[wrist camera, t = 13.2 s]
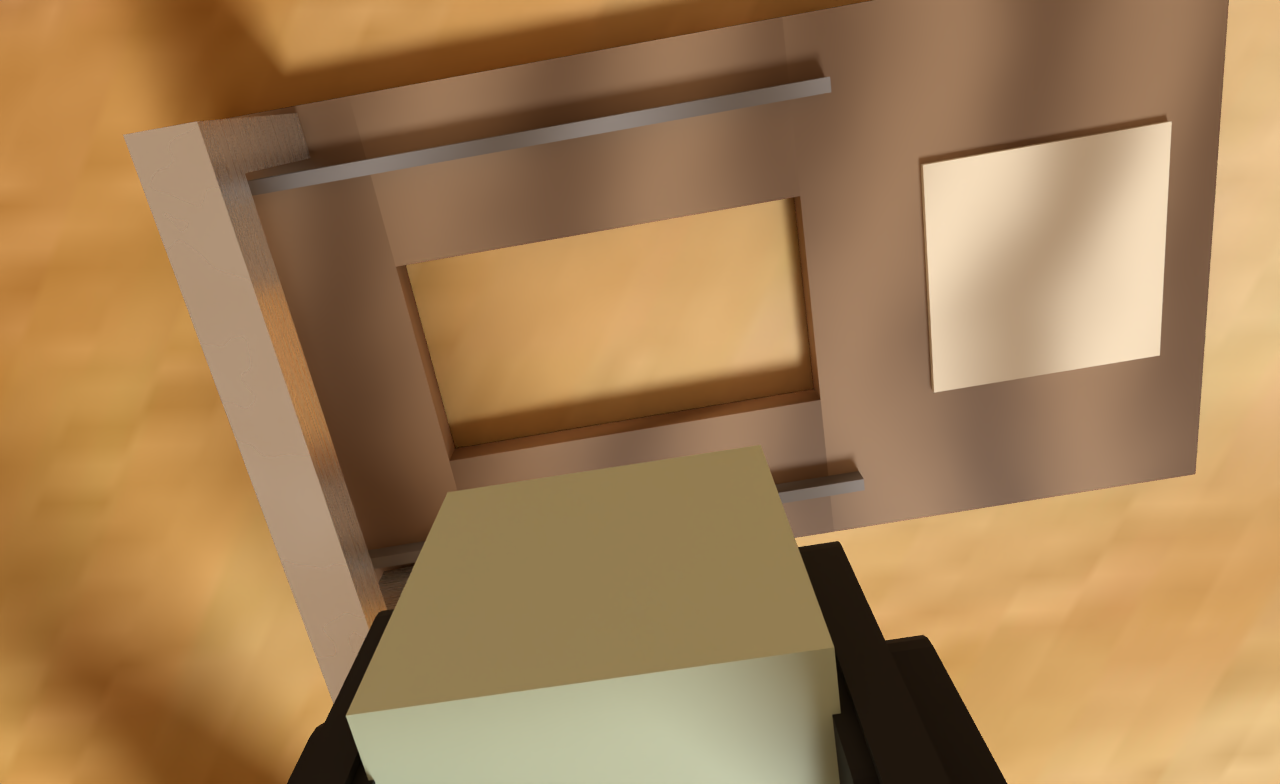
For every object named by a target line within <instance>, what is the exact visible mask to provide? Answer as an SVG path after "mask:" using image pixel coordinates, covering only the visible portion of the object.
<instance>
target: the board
mask: <svg viewBox="0 0 1280 784" xmlns="http://www.w3.org/2000/svg"><path fill="white" fill-rule="evenodd" d="M1228 5H1229V0H872V1H867V2H861V3H856V4H850V5H845V6H839V7H834V8H828V9H823V10H817V11H812V12H806V13H801V14H796V15H790V16H785V17H779V18H774V19H768V20H763V21H757V22H752V23H746V24H741V25H735V26H730V27H724V28H719V29H713V30H708V31H703V32H697V33H692V34H686V35H681V36H675V37H670V38H664V39H659V40H653V41H648V42H642V43H637V44H631V45H626V46H620V47H615V48H609V49H604V50H599V51H593V52H588V53H582V54H577V55H571V56H566V57H560V58H555V59H549V60H544V61H538V62H533V63H527V64H522V65H516V66H511V67H506V68H500V69H495V70H489V71H484V72H478V73H473V74H467V75H462V76H456V77H451V78H445V79H440V80H434V81H429V82H423V83H418V84H413V85H407V86H402V87H396V88H391V89H385V90H380V91H374V92H369V93H363V94H358V95H352V96H347V97H341V98H336V99H330V100H325V101H319V102H314V103H309V104H303V105H298V106H292V107H287V108H281V109H276V110H270V111H265V112H259V113H254V114H248V115H243V116H237V117H232V118H245V117H257V116H269V115H281V114H293V113H297V115H298V118H299V121H300V125H301V128H302V131H303V135H304V138H305V142H306V145H307V148H308V152H309V155H310V158H309V159H304V160H300V161H296V162H291V163H287V164H283V165H278V166H274V167H270V168H265V169H261V170H257V171H252V172H248V173H245V176H246V179H247V182H248V185H249V188H250V191H251V194H252V197H253V200H254V203H255V206H256V210H257V213H258V216H259V219H260V222H261V225H262V228H263V231H264V234H265V237H266V240H267V243H268V246H269V249H270V252H271V256H272V259H273V262H274V265H275V268H276V271H277V274H278V277H279V280H280V283H281V286H282V289H283V292H284V295H285V298H286V302H287V305H288V308H289V311H290V314H291V317H292V320H293V323H294V326H295V329H296V332H297V335H298V338H299V341H300V344H301V347H302V351H303V354H304V357H305V360H306V363H307V366H308V369H309V372H310V375H311V378H312V381H313V384H314V387H315V390H316V393H317V397H318V400H319V403H320V406H321V409H322V412H323V415H324V418H325V421H326V424H327V427H328V430H329V433H330V436H331V439H332V443H333V446H334V449H335V452H336V455H337V458H338V461H339V464H340V467H341V470H342V473H343V476H344V479H345V482H346V485H347V489H348V492H349V495H350V498H351V501H352V504H353V507H354V510H355V513H356V516H357V519H358V522H359V525H360V528H361V531H362V535H363V538H364V541H365V544H366V547H367V550H368V553H369V556H370V559H371V562H372V565H373V568H374V571H375V574H376V577H377V580H378V583H379V581H380V578H381V576H382V574H383V572H384V571H387V570H394V569H400V568H406V567H412V566H414V565H415V563H416V560H417V558H418V556H419V554H420V552H421V550H422V547H423V545H424V543H425V541H426V539H427V536H428V534H429V532H430V530H431V528H432V525H433V523H434V521H435V519H436V517H437V514H438V512H439V510H440V508H441V506H442V503H443V501H444V499H445V497H446V495H447V492H453V491H459V490H466V489H473V488H479V487H486V486H492V485H499V484H506V483H512V482H519V481H525V480H532V479H539V478H545V477H552V476H558V475H565V474H572V473H578V472H585V471H591V470H598V469H605V468H611V467H618V466H624V465H631V464H638V463H644V462H651V461H657V460H664V459H671V458H677V457H684V456H690V455H697V454H704V453H710V452H717V451H723V450H730V449H737V448H743V447H750V446H756V445H761V447H762V450H763V453H764V455H765V458H766V461H767V464H768V466H769V469H770V472H771V475H772V477H773V480H774V483H775V486H776V488H777V491H778V494H779V497H780V499H781V502H782V505H783V508H784V510H785V513H786V516H787V519H788V521H789V524H790V527H791V530H792V532H793V535H794V538H797V537H803V536H809V535H816V534H822V533H828V532H834V531H841V530H847V529H853V528H860V527H866V526H872V525H878V524H885V523H891V522H897V521H904V520H910V519H916V518H922V517H929V516H935V515H941V514H948V513H954V512H960V511H966V510H973V509H979V508H985V507H992V506H998V505H1004V504H1010V503H1017V502H1023V501H1029V500H1036V499H1042V498H1048V497H1054V496H1061V495H1067V494H1073V493H1080V492H1086V491H1092V490H1098V489H1105V488H1111V487H1117V486H1124V485H1130V484H1136V483H1143V482H1149V481H1155V480H1161V479H1168V478H1174V477H1180V476H1187V475H1193V474H1195V472H1196V458H1197V444H1198V429H1199V415H1200V401H1201V387H1202V373H1203V359H1204V344H1205V330H1206V316H1207V302H1208V288H1209V274H1210V259H1211V245H1212V231H1213V217H1214V203H1215V189H1216V175H1217V160H1218V146H1219V132H1220V118H1221V104H1222V90H1223V75H1224V61H1225V47H1226V33H1227V19H1228ZM232 118H226V119H232ZM792 197H794V202H795V211H796V221H797V231H798V240H799V250H800V260H801V270H802V279H803V289H804V299H805V308H806V318H807V328H808V338H809V347H810V357H811V367H812V377H813V386H814V389H811V390H805V391H799V392H793V393H787V394H781V395H775V396H769V397H763V398H757V399H751V400H745V401H739V402H733V403H727V404H721V405H714V406H708V407H702V408H696V409H690V410H684V411H678V412H672V413H666V414H660V415H654V416H648V417H642V418H636V419H630V420H624V421H618V422H612V423H606V424H600V425H594V426H588V427H582V428H576V429H570V430H564V431H558V432H552V433H545V434H539V435H533V436H527V437H521V438H515V439H509V440H503V441H497V442H491V443H485V444H479V445H473V446H467V447H461V448H455V446H454V443H453V439H452V435H451V432H450V428H449V424H448V420H447V417H446V413H445V409H444V406H443V402H442V398H441V395H440V391H439V387H438V384H437V380H436V376H435V372H434V369H433V365H432V361H431V358H430V354H429V350H428V347H427V343H426V339H425V335H424V332H423V328H422V324H421V321H420V317H419V313H418V310H417V306H416V302H415V299H414V295H413V291H412V287H411V284H410V280H409V276H408V273H407V269H406V265H408V264H414V263H420V262H425V261H431V260H437V259H443V258H448V257H454V256H460V255H466V254H471V253H477V252H483V251H488V250H494V249H500V248H506V247H511V246H517V245H523V244H529V243H534V242H540V241H546V240H552V239H557V238H563V237H569V236H574V235H580V234H586V233H592V232H597V231H603V230H609V229H615V228H620V227H626V226H632V225H637V224H643V223H649V222H655V221H660V220H666V219H672V218H678V217H683V216H689V215H695V214H701V213H706V212H712V211H718V210H723V209H729V208H735V207H741V206H746V205H752V204H758V203H764V202H769V201H775V200H781V199H786V198H792Z"/></svg>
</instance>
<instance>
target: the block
mask: <svg viewBox="0 0 1280 784" xmlns="http://www.w3.org/2000/svg"><path fill="white" fill-rule="evenodd" d="M840 713H841V710H840V700H839V690H838V680H837V669H836V659H835V649H834V645H833V642H832V640H831V637H830V634H829V631H828V629H827V626H826V623H825V620H824V618H823V615H822V612H821V609H820V607H819V604H818V601H817V598H816V596H815V593H814V590H813V587H812V585H811V582H810V579H809V576H808V574H807V571H806V568H805V565H804V563H803V560H802V557H801V554H800V552H799V549H798V546H797V543H796V541H795V538H794V535H793V532H792V530H791V527H790V524H789V521H788V519H787V516H786V513H785V510H784V508H783V505H782V502H781V499H780V497H779V494H778V491H777V488H776V486H775V483H774V480H773V477H772V475H771V472H770V469H769V466H768V464H767V461H766V458H765V455H764V453H763V450H762V447H761V445H756V446H750V447H743V448H737V449H730V450H723V451H717V452H710V453H704V454H697V455H690V456H684V457H677V458H671V459H664V460H657V461H651V462H644V463H638V464H631V465H624V466H618V467H611V468H605V469H598V470H591V471H585V472H578V473H572V474H565V475H558V476H552V477H545V478H539V479H532V480H525V481H519V482H512V483H506V484H499V485H492V486H486V487H479V488H473V489H466V490H459V491H453V492H447V495H446V497H445V499H444V501H443V503H442V506H441V508H440V510H439V512H438V514H437V517H436V519H435V521H434V523H433V525H432V528H431V530H430V532H429V534H428V536H427V539H426V541H425V543H424V545H423V547H422V550H421V552H420V554H419V556H418V558H417V560H416V563H415V565H414V567H413V569H412V571H411V574H410V576H409V578H408V580H407V582H406V585H405V587H404V589H403V591H402V593H401V596H400V598H399V600H398V602H397V604H396V607H395V609H394V611H393V613H392V615H391V618H390V620H389V622H388V624H387V626H386V629H385V631H384V633H383V635H382V637H381V639H380V642H379V644H378V646H377V648H376V650H375V653H374V655H373V657H372V659H371V661H370V664H369V666H368V668H367V670H366V672H365V675H364V677H363V679H362V681H361V683H360V686H359V688H358V690H357V692H356V694H355V697H354V699H353V701H352V703H351V705H350V707H349V710H348V712H347V714H346V718H347V721H348V723H349V726H350V729H351V732H352V735H353V738H354V740H355V743H356V746H357V749H358V752H359V755H360V757H361V760H362V763H363V766H364V769H365V772H366V774H367V777H368V780H374V781H375V783H376V784H840V780H839V771H838V762H837V754H836V745H835V736H834V727H833V718H832V715H833V714H840Z"/></svg>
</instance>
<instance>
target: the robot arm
mask: <svg viewBox="0 0 1280 784" xmlns="http://www.w3.org/2000/svg"><path fill="white" fill-rule="evenodd" d="M798 549H799V552H800V554H801V557H802V560H803V563H804V565H805V568H806V571H807V574H808V576H809V579H810V582H811V585H812V587H813V590H814V593H815V596H816V598H817V601H818V604H819V607H820V609H821V612H822V615H823V618H824V620H825V623H826V626H827V629H828V631H829V634H830V637H831V640H832V642H833V645H834V649H835V659H836V669H837V680H838V690H839V700H840V710H841V713H840V714H833V715H832V718H833V727H834V736H835V745H836V754H837V762H838V771H839V780H840V784H1007V782H1006V780H1005V779H1004V777H1003V775H1002V773H1001V771H1000V769H999V767H998V766H997V764H996V762H995V760H994V758H993V756H992V754H991V753H990V751H989V749H988V747H987V745H986V743H985V741H984V740H983V738H982V736H981V734H980V732H979V730H978V728H977V727H976V725H975V723H974V721H973V719H972V717H971V716H970V714H969V712H968V710H967V708H966V706H965V704H964V703H963V701H962V699H961V697H960V695H959V693H958V691H957V690H956V688H955V686H954V684H953V682H952V680H951V678H950V677H949V675H948V673H947V671H946V669H945V667H944V666H943V664H942V662H941V660H940V658H939V656H938V654H937V653H936V651H935V649H934V647H933V645H932V644H931V642H930V641H929V639H928V638H927V637H925V636H924V635H920V636H913V637H906V638H900V639H893V640H886V641H885V639H884V637H883V635H882V633H881V631H880V628H879V626H878V624H877V622H876V620H875V617H874V615H873V613H872V611H871V609H870V607H869V604H868V602H867V600H866V598H865V596H864V594H863V591H862V589H861V587H860V585H859V583H858V580H857V578H856V576H855V574H854V572H853V570H852V567H851V565H850V563H849V561H848V559H847V556H846V554H845V552H844V550H843V548H842V546H841V544H840V542H838V541H836V542H829V543H823V544H816V545H810V546H803V547H798ZM393 611H394V609H390V610H384V611H381V612H379V613H378V614H377V615H376V617H375V619H374V621H373V623H372V625H371V627H370V629H369V631H368V634H367V636H366V638H365V640H364V642H363V644H362V646H361V648H360V650H359V652H358V654H357V656H356V658H355V661H354V663H353V665H352V667H351V669H350V671H349V673H348V675H347V677H346V679H345V681H344V683H343V686H342V688H341V690H340V692H339V694H338V696H337V698H336V700H335V702H334V704H333V706H332V708H331V711H330V713H329V715H328V717H327V719H326V721H325V723H323V724H321V725H319V726H318V727H316V729H315V730H314V732H313V733H312V735H311V736H310V738H309V740H308V742H307V744H306V746H305V748H304V750H303V752H302V754H301V756H300V758H299V760H298V762H297V764H296V766H295V768H294V770H293V772H292V774H291V776H290V779H289V781H288V783H287V784H376V783H375V781H374V780H368V777H367V774H366V772H365V769H364V766H363V763H362V760H361V757H360V755H359V752H358V749H357V746H356V743H355V740H354V738H353V735H352V732H351V729H350V726H349V723H348V721H347V718H346V714H347V712H348V710H349V707H350V705H351V703H352V701H353V699H354V697H355V694H356V692H357V690H358V688H359V686H360V683H361V681H362V679H363V677H364V675H365V672H366V670H367V668H368V666H369V664H370V661H371V659H372V657H373V655H374V653H375V650H376V648H377V646H378V644H379V642H380V639H381V637H382V635H383V633H384V631H385V629H386V626H387V624H388V622H389V620H390V618H391V615H392V613H393Z"/></svg>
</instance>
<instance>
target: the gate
mask: <svg viewBox="0 0 1280 784" xmlns="http://www.w3.org/2000/svg"><path fill="white" fill-rule="evenodd" d="M123 136H124V139H125V141H126V144H127V147H128V149H129V152H130V155H131V157H132V160H133V163H134V166H135V168H136V171H137V174H138V176H139V179H140V182H141V185H142V187H143V190H144V193H145V195H146V198H147V201H148V203H149V206H150V209H151V212H152V214H153V217H154V220H155V222H156V225H157V228H158V230H159V233H160V236H161V239H162V241H163V244H164V247H165V249H166V252H167V255H168V257H169V260H170V263H171V266H172V268H173V271H174V274H175V276H176V279H177V282H178V285H179V287H180V290H181V293H182V295H183V298H184V301H185V303H186V306H187V309H188V312H189V314H190V317H191V320H192V322H193V325H194V328H195V330H196V333H197V336H198V339H199V341H200V344H201V347H202V349H203V352H204V355H205V357H206V360H207V363H208V366H209V368H210V371H211V374H212V376H213V379H214V382H215V385H216V387H217V390H218V393H219V395H220V398H221V401H222V403H223V406H224V409H225V412H226V414H227V417H228V420H229V422H230V425H231V428H232V430H233V433H234V436H235V439H236V441H237V444H238V447H239V449H240V452H241V455H242V457H243V460H244V463H245V466H246V468H247V471H248V474H249V476H250V479H251V482H252V485H253V487H254V490H255V493H256V495H257V498H258V501H259V503H260V506H261V509H262V512H263V514H264V517H265V520H266V522H267V525H268V528H269V530H270V533H271V536H272V539H273V541H274V544H275V547H276V549H277V552H278V555H279V557H280V560H281V563H282V566H283V568H284V571H285V574H286V576H287V579H288V582H289V585H290V587H291V590H292V593H293V595H294V598H295V601H296V603H297V606H298V609H299V612H300V614H301V617H302V620H303V622H304V625H305V628H306V630H307V633H308V636H309V639H310V641H311V644H312V647H313V649H314V652H315V655H316V657H317V660H318V663H319V666H320V668H321V671H322V674H323V676H324V679H325V682H326V685H327V687H328V690H329V693H330V695H331V698H332V701H333V703H334V702H335V700H336V698H337V696H338V694H339V692H340V690H341V688H342V686H343V683H344V681H345V679H346V677H347V675H348V673H349V671H350V669H351V667H352V665H353V663H354V661H355V658H356V656H357V654H358V652H359V650H360V648H361V646H362V644H363V642H364V640H365V638H366V636H367V634H368V631H369V629H370V627H371V625H372V623H373V621H374V619H375V617H376V615H377V614H378V613H379V612H381V611H384V610H390V609H395V607H396V604H397V602H398V600H399V598H400V596H401V593H402V591H403V589H404V587H405V585H406V582H407V580H408V578H409V576H410V574H411V571H412V569H413V567H414V566H412V567H406V568H400V569H394V570H387V571H384V572H383V574H382V576H381V578H380V581H379V583H378V580H377V577H376V574H375V571H374V568H373V565H372V562H371V559H370V556H369V553H368V550H367V547H366V544H365V541H364V538H363V535H362V531H361V528H360V525H359V522H358V519H357V516H356V513H355V510H354V507H353V504H352V501H351V498H350V495H349V492H348V489H347V485H346V482H345V479H344V476H343V473H342V470H341V467H340V464H339V461H338V458H337V455H336V452H335V449H334V446H333V443H332V439H331V436H330V433H329V430H328V427H327V424H326V421H325V418H324V415H323V412H322V409H321V406H320V403H319V400H318V397H317V393H316V390H315V387H314V384H313V381H312V378H311V375H310V372H309V369H308V366H307V363H306V360H305V357H304V354H303V351H302V347H301V344H300V341H299V338H298V335H297V332H296V329H295V326H294V323H293V320H292V317H291V314H290V311H289V308H288V305H287V302H286V298H285V295H284V292H283V289H282V286H281V283H280V280H279V277H278V274H277V271H276V268H275V265H274V262H273V259H272V256H271V252H270V249H269V246H268V243H267V240H266V237H265V234H264V231H263V228H262V225H261V222H260V219H259V216H258V213H257V210H256V206H255V203H254V200H253V197H252V194H251V191H250V188H249V185H248V182H247V179H246V176H245V173H248V172H252V171H257V170H261V169H265V168H270V167H274V166H278V165H283V164H287V163H291V162H296V161H300V160H304V159H309V158H310V155H309V152H308V148H307V145H306V142H305V138H304V135H303V131H302V128H301V125H300V121H299V118H298V115H297V113H293V114H281V115H269V116H257V117H245V118H232V119H220V120H208V121H197V122H191V123H186V124H180V125H175V126H169V127H164V128H158V129H153V130H147V131H142V132H136V133H131V134H126V135H123Z"/></svg>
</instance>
